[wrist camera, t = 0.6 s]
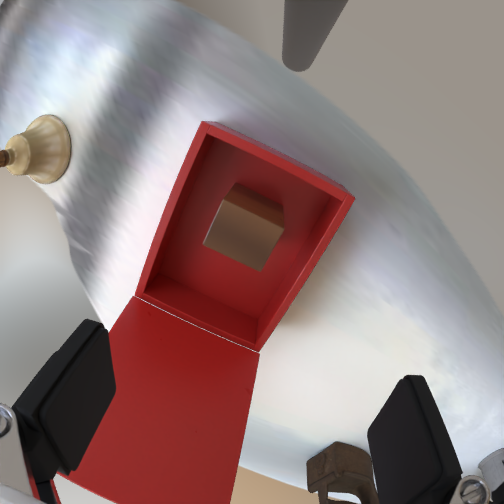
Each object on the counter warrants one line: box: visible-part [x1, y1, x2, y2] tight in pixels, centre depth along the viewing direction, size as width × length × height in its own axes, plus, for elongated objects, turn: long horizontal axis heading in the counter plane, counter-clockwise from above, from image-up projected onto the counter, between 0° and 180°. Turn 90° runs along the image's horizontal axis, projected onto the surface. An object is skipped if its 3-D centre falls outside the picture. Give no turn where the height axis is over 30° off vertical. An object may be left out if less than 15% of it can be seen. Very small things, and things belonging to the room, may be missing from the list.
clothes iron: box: [306, 442, 379, 504], centre depth 40 cm, size 8×16×13 cm, turn 60°
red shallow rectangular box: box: [135, 121, 355, 352], centre depth 29 cm, size 18×14×5 cm
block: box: [203, 183, 284, 272], centre depth 27 cm, size 4×5×7 cm
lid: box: [57, 296, 260, 504], centre depth 23 cm, size 18×14×5 cm
